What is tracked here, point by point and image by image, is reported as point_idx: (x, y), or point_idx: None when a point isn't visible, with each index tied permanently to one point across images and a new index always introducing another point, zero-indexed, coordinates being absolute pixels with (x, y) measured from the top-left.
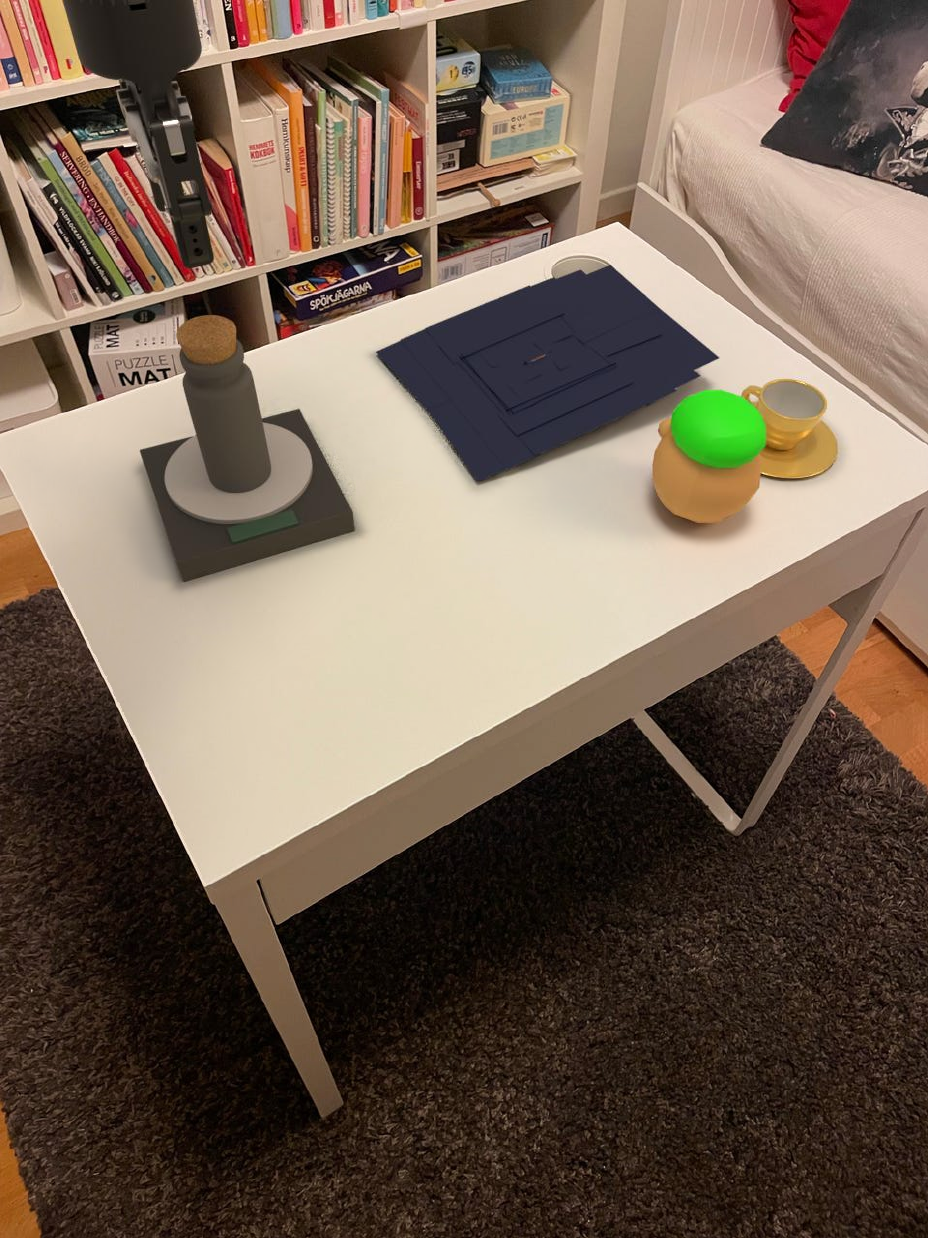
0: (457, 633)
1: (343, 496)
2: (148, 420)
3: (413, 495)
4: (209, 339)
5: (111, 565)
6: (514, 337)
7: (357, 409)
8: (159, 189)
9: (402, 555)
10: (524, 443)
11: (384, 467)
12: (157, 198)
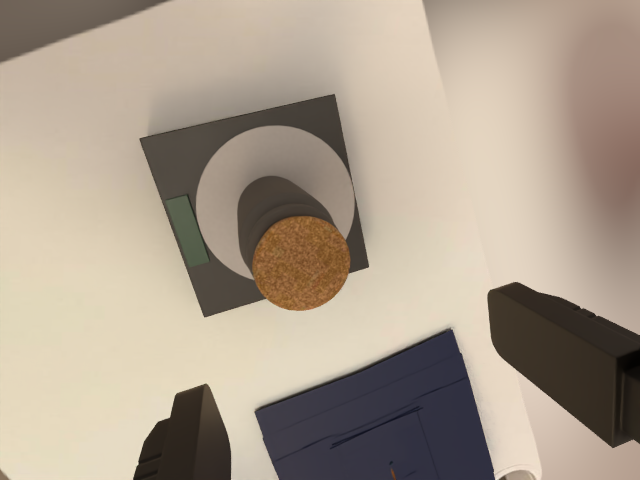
0: (62, 389)
1: (227, 309)
2: (405, 99)
3: (248, 356)
4: (277, 272)
5: (179, 57)
6: (428, 455)
7: (377, 310)
8: (531, 328)
9: (168, 346)
10: (290, 454)
11: (291, 332)
12: (512, 306)
